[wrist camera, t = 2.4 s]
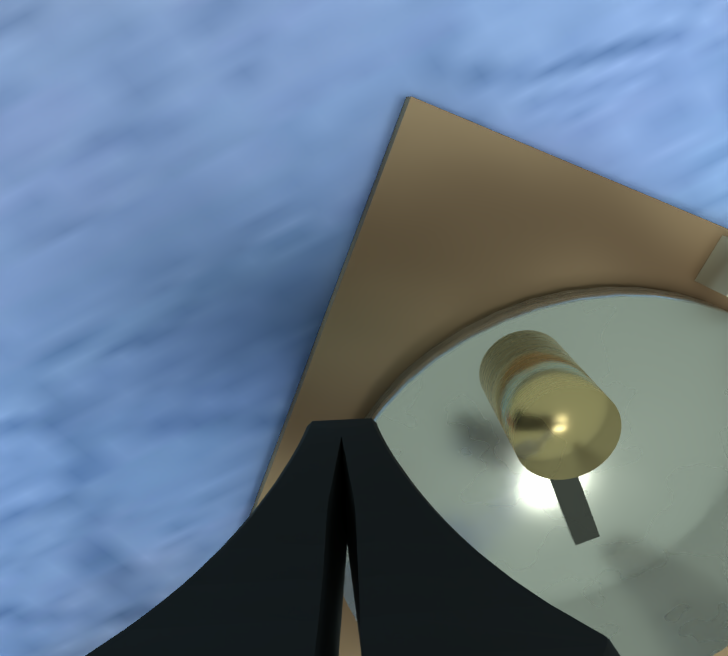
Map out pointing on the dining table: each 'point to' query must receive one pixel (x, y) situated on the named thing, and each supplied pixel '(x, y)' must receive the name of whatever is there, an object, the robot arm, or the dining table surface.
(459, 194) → the dial base
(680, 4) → the dining table surface
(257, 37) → the dining table surface
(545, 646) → the robot arm
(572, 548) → the capstan dial
